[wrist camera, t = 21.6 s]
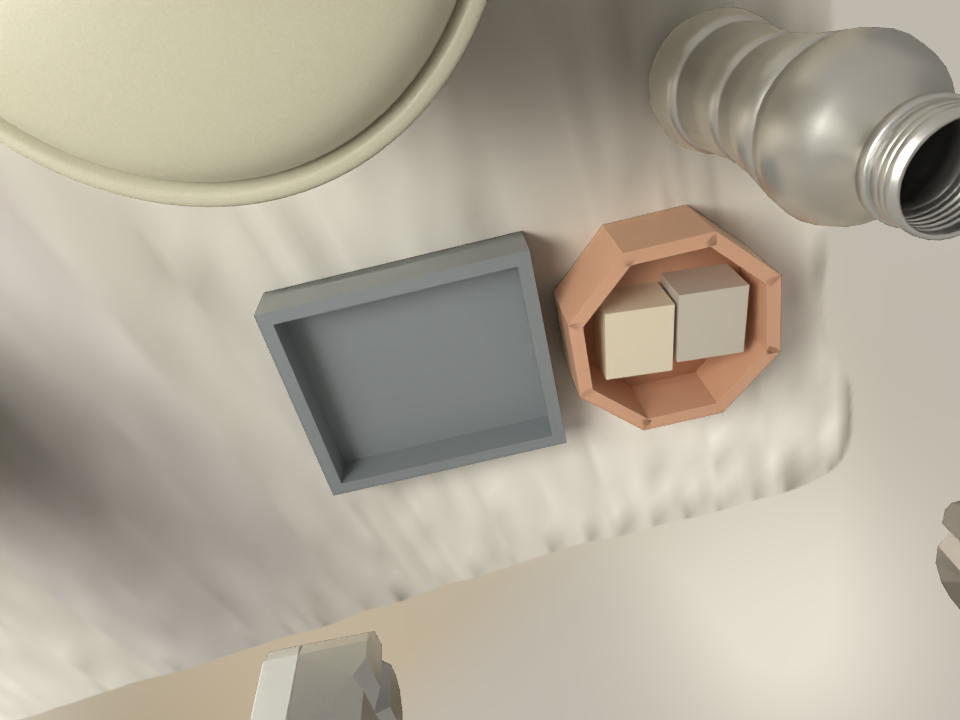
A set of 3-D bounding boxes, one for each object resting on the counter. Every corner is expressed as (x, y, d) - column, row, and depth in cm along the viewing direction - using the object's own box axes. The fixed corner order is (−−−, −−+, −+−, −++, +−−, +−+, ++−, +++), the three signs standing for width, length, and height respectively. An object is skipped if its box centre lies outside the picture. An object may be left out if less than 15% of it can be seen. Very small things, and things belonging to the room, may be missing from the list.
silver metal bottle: (645, 153, 38) (838, 313, 21) (629, 22, 34) (846, 83, 17) (759, 122, 38) (1052, 258, 20) (755, -13, 34) (1104, 13, 17)
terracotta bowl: (573, 402, 46) (588, 443, 42) (543, 238, 40) (558, 268, 36) (748, 362, 46) (779, 399, 42) (746, 190, 39) (782, 215, 36)
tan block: (591, 290, 41) (604, 314, 38) (657, 281, 41) (674, 304, 38) (593, 353, 43) (606, 379, 40) (655, 344, 43) (672, 370, 41)
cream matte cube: (661, 273, 41) (679, 295, 38) (726, 263, 41) (749, 284, 38) (660, 336, 43) (677, 362, 40) (722, 327, 43) (743, 352, 40)
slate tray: (337, 466, 47) (333, 495, 44) (264, 292, 40) (253, 315, 37) (557, 415, 46) (566, 442, 44) (521, 230, 39) (529, 249, 37)
